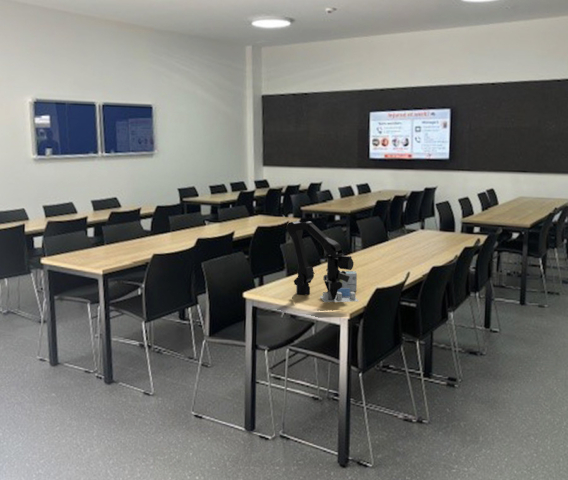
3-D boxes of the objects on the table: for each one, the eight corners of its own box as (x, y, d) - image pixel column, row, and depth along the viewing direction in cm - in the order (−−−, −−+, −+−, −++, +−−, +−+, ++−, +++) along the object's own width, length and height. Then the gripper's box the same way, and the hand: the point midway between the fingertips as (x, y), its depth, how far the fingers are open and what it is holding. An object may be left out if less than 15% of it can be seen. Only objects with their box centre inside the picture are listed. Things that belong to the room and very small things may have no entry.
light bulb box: (354, 289, 328) (355, 270, 327) (356, 292, 322) (357, 273, 320) (335, 289, 328) (335, 270, 326) (337, 292, 321) (337, 273, 320)
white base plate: (323, 303, 298) (323, 294, 298) (319, 297, 310) (319, 288, 309) (359, 303, 300) (359, 293, 300) (353, 297, 312) (353, 287, 311)
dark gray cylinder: (336, 298, 302) (333, 292, 301) (330, 301, 302) (327, 295, 301) (334, 295, 308) (331, 289, 307) (328, 298, 308) (325, 292, 307)
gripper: (352, 271, 294) (351, 302, 296) (344, 263, 312) (343, 292, 315) (330, 271, 293) (329, 302, 295) (323, 264, 311) (322, 293, 313)
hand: (332, 297), depth 305 cm, fingers open, 8 cm apart
